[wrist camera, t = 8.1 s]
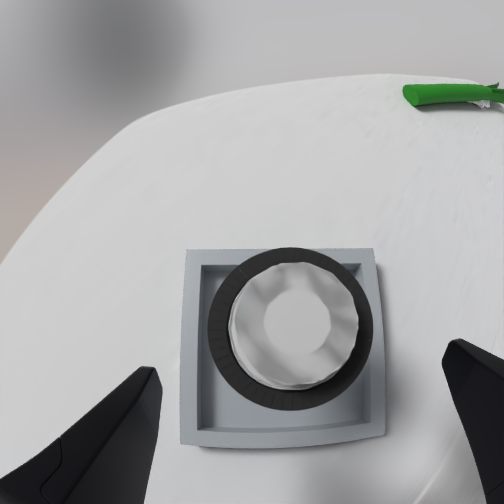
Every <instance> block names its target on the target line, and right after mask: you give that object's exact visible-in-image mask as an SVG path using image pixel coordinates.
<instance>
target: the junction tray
mask: <svg viewBox="0 0 504 504" xmlns="http://www.w3.org/2000/svg"><path fill="white" fill-rule="evenodd" d="M268 250H272V249H222V250H187V251H186V263H185V276H184V290H183V306H182V325H181V351H180V444H184V445H194V446H205V447H220V448H288V447H303V446H314V445H324V444H332V443H340V442H347V441H353V440H359V439H365V438H370V437H375V436H380V435H385V419H386V378H385V353H384V337H383V324H382V313H381V303H380V294H379V286H378V278H377V271H376V264H375V257H374V251H373V248H357V249H309V250H313V251H316V252H319V253H322V254H324V255H326V256H328V257H331V258H332V259H334V260H336V261H337V262H339V263H340V264H341V265H343V266H344V267H345V268H346V269H347V270H348V271H349V272H350V273H351V274H352V275H353V276H354V277H355V278H356V280H357V281H358V282H359V284H360V285H361V287H362V289H363V290H364V292H365V294H366V296H367V299H368V301H369V304H370V307H371V312H372V316H373V341H372V346H371V351H370V354H369V357H368V359H367V362H366V364H365V366H364V368H363V369H362V371H361V373H360V374H359V376H358V377H357V378H356V380H355V381H354V382H353V383H352V384H351V385H350V386H349V388H347V389H346V390H345V391H344V392H343V393H342V394H340V395H339V396H337V397H336V398H334V399H333V400H331V401H329V402H327V403H325V404H323V405H320V406H317V407H314V408H310V409H306V410H300V411H280V410H274V409H270V408H266V407H263V406H260V405H258V404H255V403H253V402H251V401H250V400H248V399H246V398H244V397H243V396H242V395H240V394H239V393H237V392H236V391H235V390H234V389H233V388H232V387H231V386H230V385H229V384H228V383H227V382H226V380H225V379H224V378H223V376H222V375H221V374H220V372H219V370H218V368H217V367H216V365H215V363H214V360H213V358H212V355H211V351H210V348H209V343H208V333H207V326H208V316H209V311H210V307H211V304H212V301H213V299H214V296H215V294H216V292H217V290H218V289H219V287H220V285H221V284H222V282H223V281H224V280H225V278H226V277H227V276H228V275H229V274H230V273H231V272H232V271H233V270H234V269H235V268H236V267H237V266H239V265H240V264H241V263H243V262H244V261H246V260H247V259H249V258H251V257H253V256H255V255H257V254H259V253H262V252H265V251H268ZM231 345H232V343H231ZM232 349H233V347H232ZM233 352H234V351H233ZM234 355H235V353H234ZM235 357H236V356H235ZM236 359H237V358H236ZM237 361H238V362H239V364H240V366H241V367H242V368H243V369H244V371H245V372H246V373H247V374H248V375H250V374H249V373H248V371H247V370H246V369H245V368H244V366H243V365H242V364H241V363H240V361H239V360H238V359H237ZM250 376H251V375H250ZM251 377H252V378H253V379H255V380H256V381H258V382H260V383H262V384H264V385H266V386H269V385H267V384H265V383H263V382H261V381H259V380H257V379H256V378H254V377H253V376H251ZM269 387H271V386H269ZM273 388H274V387H273Z"/></svg>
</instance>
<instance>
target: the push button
mask: <svg viewBox="0 0 504 504" xmlns="http://www.w3.org/2000/svg"><path fill="white" fill-rule="evenodd" d="M207 333H208V343H209V348H210V351H211V355H212V358H213V360H214V363H215V365H216V367H217V368H218V370H219V372H220V374H221V375H222V376H223V378H224V379H225V380H226V382H227V383H228V384H229V385H230V386H231V387H232V388H233V389H234V390H235V391H236V392H237V393H239V394H240V395H242V396H243V397H244V398H246V399H248V400H250V401H251V402H253V403H255V404H258V405H260V406H263V407H266V408H270V409H274V410H280V411H300V410H306V409H310V408H314V407H317V406H320V405H323V404H325V403H327V402H329V401H331V400H333V399H334V398H336V397H337V396H339V395H340V394H342V393H343V392H344V391H345V390H346V389H347V388H349V386H350V385H351V384H352V383H353V382H354V381H355V380H356V378H357V377H358V376H359V374H360V373H361V371H362V369H363V368H364V366H365V364H366V362H367V359H368V357H369V354H370V351H371V346H372V341H373V316H372V312H371V307H370V304H369V301H368V299H367V296H366V294H365V292H364V290H363V289H362V287H361V285H360V284H359V282H358V281H357V280H356V278H355V277H354V276H353V275H352V274H351V273H350V272H349V271H348V270H347V269H346V268H345V267H344V266H343V265H341V264H340V263H339V262H337V261H336V260H334V259H332V258H331V257H328V256H326V255H324V254H322V253H319V252H316V251H313V250H309V249H303V248H292V247H289V248H278V249H272V250H268V251H265V252H262V253H259V254H257V255H255V256H253V257H251V258H249V259H247V260H246V261H244V262H243V263H241V264H240V265H239V266H237V267H236V268H235V269H234V270H233V271H232V272H231V273H230V274H229V275H228V276H227V277H226V278H225V280H224V281H223V282H222V284H221V285H220V287H219V289H218V290H217V292H216V294H215V296H214V299H213V301H212V304H211V307H210V311H209V316H208V326H207ZM231 343H232V345H231ZM232 347H233V349H232ZM233 351H234V352H233ZM234 353H235V355H234ZM235 356H236V357H235ZM236 358H237V359H238V360H239V361H240V363H241V364H242V365H243V366H244V368H245V369H246V370H247V371H248V373H249V374H250V375H251V376H253V377H254V378H256V379H257V380H259V381H261V382H263V383H265V384H267V385H269V386H271V387H269V386H266V385H264V384H262V383H260V382H258V381H256V380H255V379H253V378H252V377H251V376H250V375H248V374H247V373H246V372H245V371H244V369H243V368H242V367H241V366H240V364H239V362H238V361H237V359H236ZM273 387H274V388H273Z"/></svg>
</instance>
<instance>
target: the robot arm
mask: <svg viewBox="0 0 504 504" xmlns="http://www.w3.org/2000/svg"><path fill="white" fill-rule="evenodd" d="M442 368H443V371H444V373H445V376H446V379H447V383H448V386H449V389H450V392H451V395H452V398H453V402H454V404H455V407H456V409H457V412H458V414H459V417H460V420H461V422H462V425H463V427H464V430H465V433H466V436H467V438H468V441H469V444H470V447H471V450H472V453H473V456H474V459H475V462H476V465H477V469H478V472H479V475H480V479H481V482H482V486H483V490H484V494H485V499H486V503H487V504H504V360H503V359H501V358H499V357H497V356H495V355H493V354H491V353H489V352H487V351H485V350H483V349H481V348H479V347H477V346H475V345H473V344H471V343H469V342H467V341H465V340H463V339H460V338H459V339H455V340H452V341H450V342H449V344H448V346H447V349H446V351H445V354H444V356H443V358H442ZM162 393H163V391H162V385H161V382H160V379H159V376H158V373H157V371H156V369H155V368H154V367H147V366H141V367H139V368H138V369H137V370H136V371H135V372H134V373H132V374H131V375H130V376H129V377H128V378H127V379H126V380H124V381H123V382H122V383H121V384H120V385H119V386H118V387H116V388H115V389H114V390H113V391H112V392H111V393H110V394H108V395H107V396H106V397H105V398H104V399H103V400H101V401H100V402H99V403H98V404H97V405H96V406H95V407H93V408H92V409H91V410H90V411H89V412H88V413H86V414H85V415H84V416H83V417H82V418H81V419H79V420H78V421H77V422H76V423H75V424H74V425H72V426H71V427H70V428H69V429H68V430H67V431H65V432H64V433H63V434H62V435H61V436H60V437H58V438H57V439H56V440H55V441H54V442H52V443H51V444H50V445H49V446H48V447H46V448H45V449H44V450H42V451H41V452H40V453H39V454H37V455H36V456H34V457H33V458H32V459H30V460H29V461H27V462H26V463H24V464H23V465H21V466H20V467H18V468H17V469H15V470H13V471H12V472H10V473H9V474H7V475H6V476H4V477H2V478H1V479H0V504H144V500H145V494H146V489H147V484H148V480H149V475H150V470H151V465H152V461H153V456H154V452H155V447H156V443H157V437H158V429H159V420H160V410H161V402H162Z"/></svg>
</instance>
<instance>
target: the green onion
mask: <svg viewBox="0 0 504 504" xmlns="http://www.w3.org/2000/svg"><path fill="white" fill-rule="evenodd" d="M498 85H499V83H497V84H495V85H490V86H483V85H476V84H426V85H425V84H413V85H405V86H404V87H403V95H404V97H405V99H406V100H407V101H408V102H409V103H410V104H411V105H413V106H417V105H425V104H431V103H446V102H463V101H467V102H469V103H471V102H473V103H475V104H477V105H478V106H479V107H480V108H484V106H485V107H487V108H489V107H490V102H489V101H488V100H490V101H494V102H498V103H503V104H504V89H497V87H498Z"/></svg>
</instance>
